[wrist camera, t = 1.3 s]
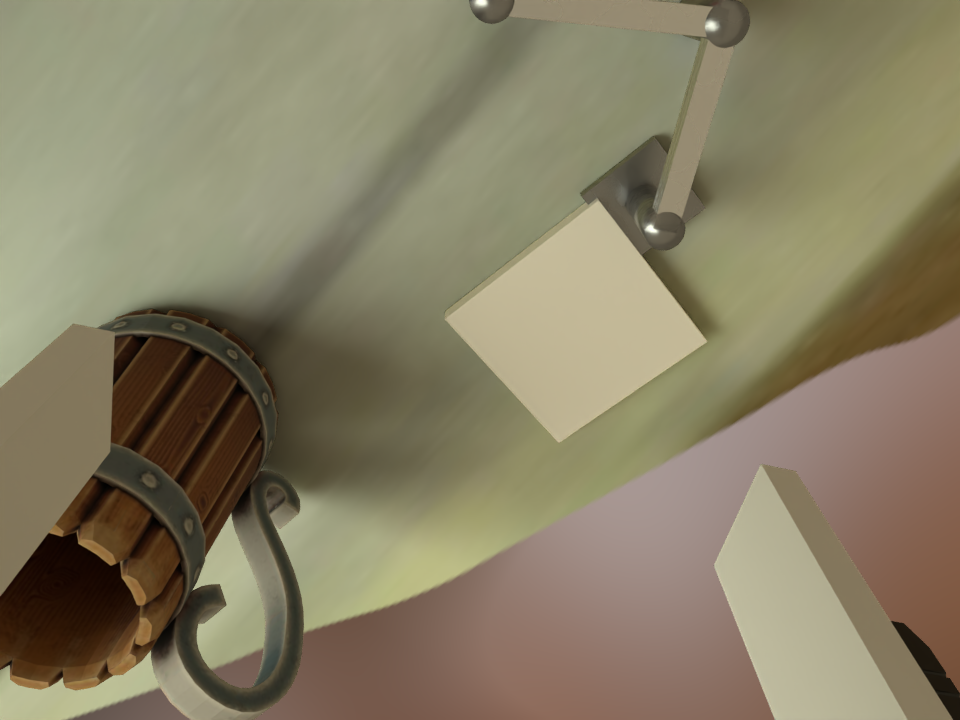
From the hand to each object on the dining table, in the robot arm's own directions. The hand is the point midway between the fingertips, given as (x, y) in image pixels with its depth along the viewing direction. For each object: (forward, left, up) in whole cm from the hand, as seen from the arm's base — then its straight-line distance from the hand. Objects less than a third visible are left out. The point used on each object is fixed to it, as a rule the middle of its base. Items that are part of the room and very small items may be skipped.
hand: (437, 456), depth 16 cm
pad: (+9, 0, -22) cm, 24 cm away
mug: (+2, -18, -23) cm, 29 cm away
